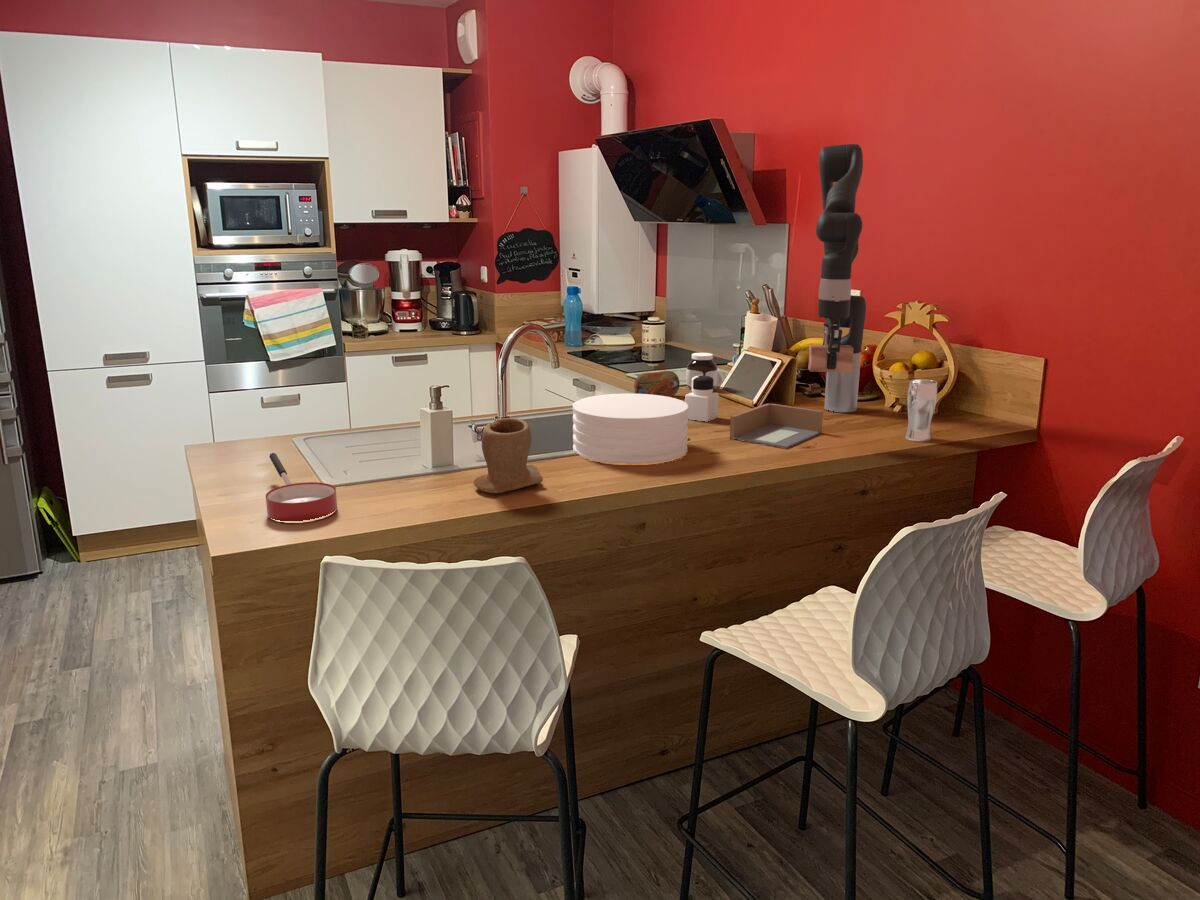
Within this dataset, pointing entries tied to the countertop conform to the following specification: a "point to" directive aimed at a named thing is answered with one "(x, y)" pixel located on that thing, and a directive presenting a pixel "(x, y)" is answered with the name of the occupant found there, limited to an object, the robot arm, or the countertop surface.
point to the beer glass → (920, 408)
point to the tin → (657, 383)
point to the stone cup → (507, 457)
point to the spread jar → (703, 369)
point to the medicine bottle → (702, 399)
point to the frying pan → (299, 498)
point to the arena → (776, 425)
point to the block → (820, 359)
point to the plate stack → (630, 428)
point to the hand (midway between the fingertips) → (829, 366)
